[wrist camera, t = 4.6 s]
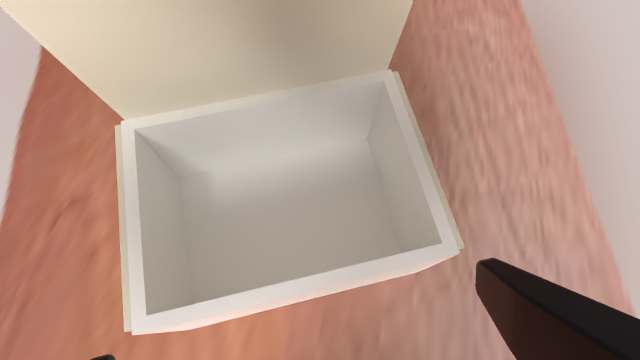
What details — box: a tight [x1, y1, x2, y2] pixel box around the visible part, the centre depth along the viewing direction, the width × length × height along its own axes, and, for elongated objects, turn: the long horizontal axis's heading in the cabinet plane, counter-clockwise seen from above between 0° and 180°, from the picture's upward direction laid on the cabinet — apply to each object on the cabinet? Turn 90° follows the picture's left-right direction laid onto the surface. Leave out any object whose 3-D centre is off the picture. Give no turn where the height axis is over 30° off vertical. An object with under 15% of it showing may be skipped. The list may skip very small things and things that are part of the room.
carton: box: [115, 69, 465, 335], centre depth 20 cm, size 10×15×7 cm
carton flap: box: [0, 0, 414, 120], centre depth 14 cm, size 10×14×1 cm
